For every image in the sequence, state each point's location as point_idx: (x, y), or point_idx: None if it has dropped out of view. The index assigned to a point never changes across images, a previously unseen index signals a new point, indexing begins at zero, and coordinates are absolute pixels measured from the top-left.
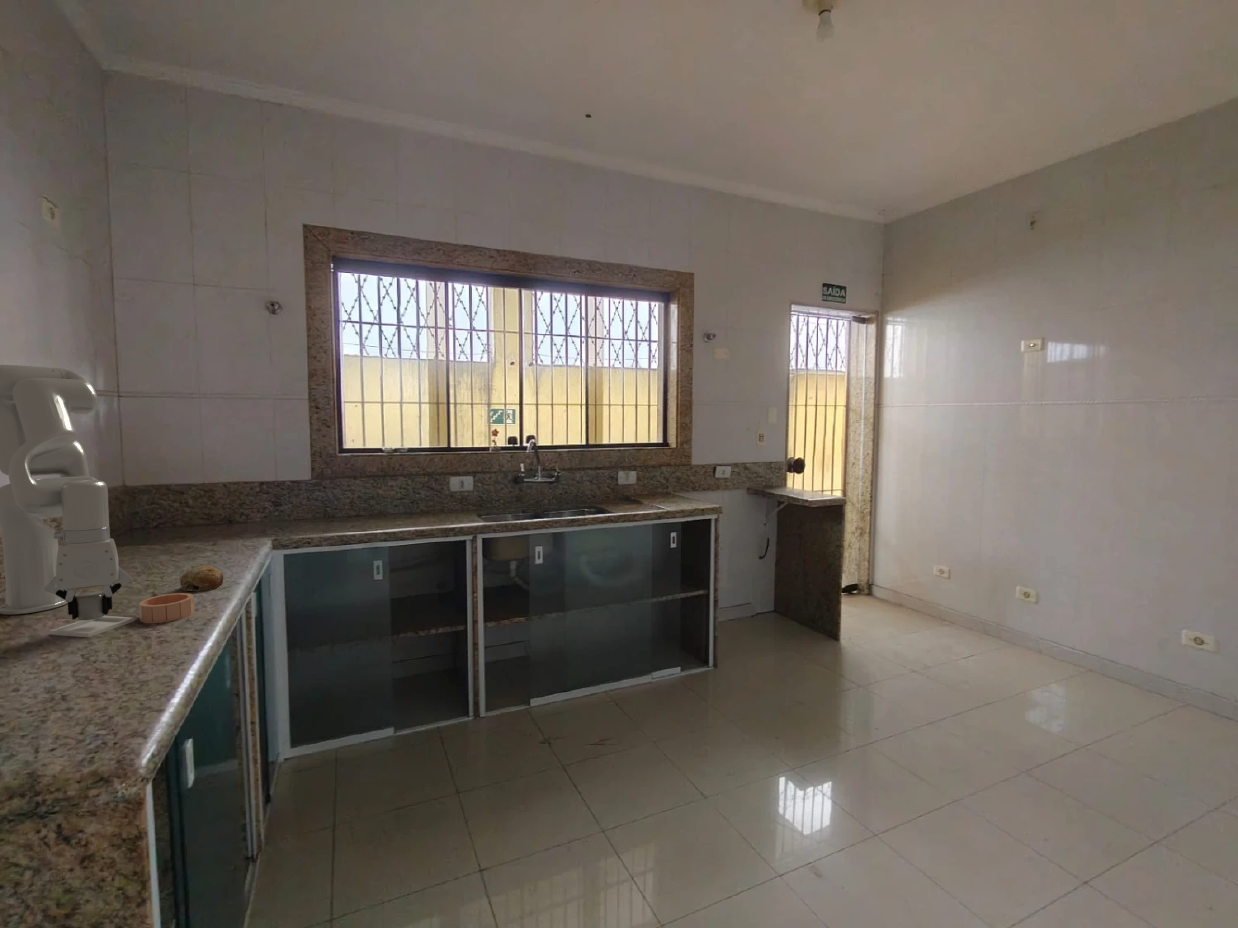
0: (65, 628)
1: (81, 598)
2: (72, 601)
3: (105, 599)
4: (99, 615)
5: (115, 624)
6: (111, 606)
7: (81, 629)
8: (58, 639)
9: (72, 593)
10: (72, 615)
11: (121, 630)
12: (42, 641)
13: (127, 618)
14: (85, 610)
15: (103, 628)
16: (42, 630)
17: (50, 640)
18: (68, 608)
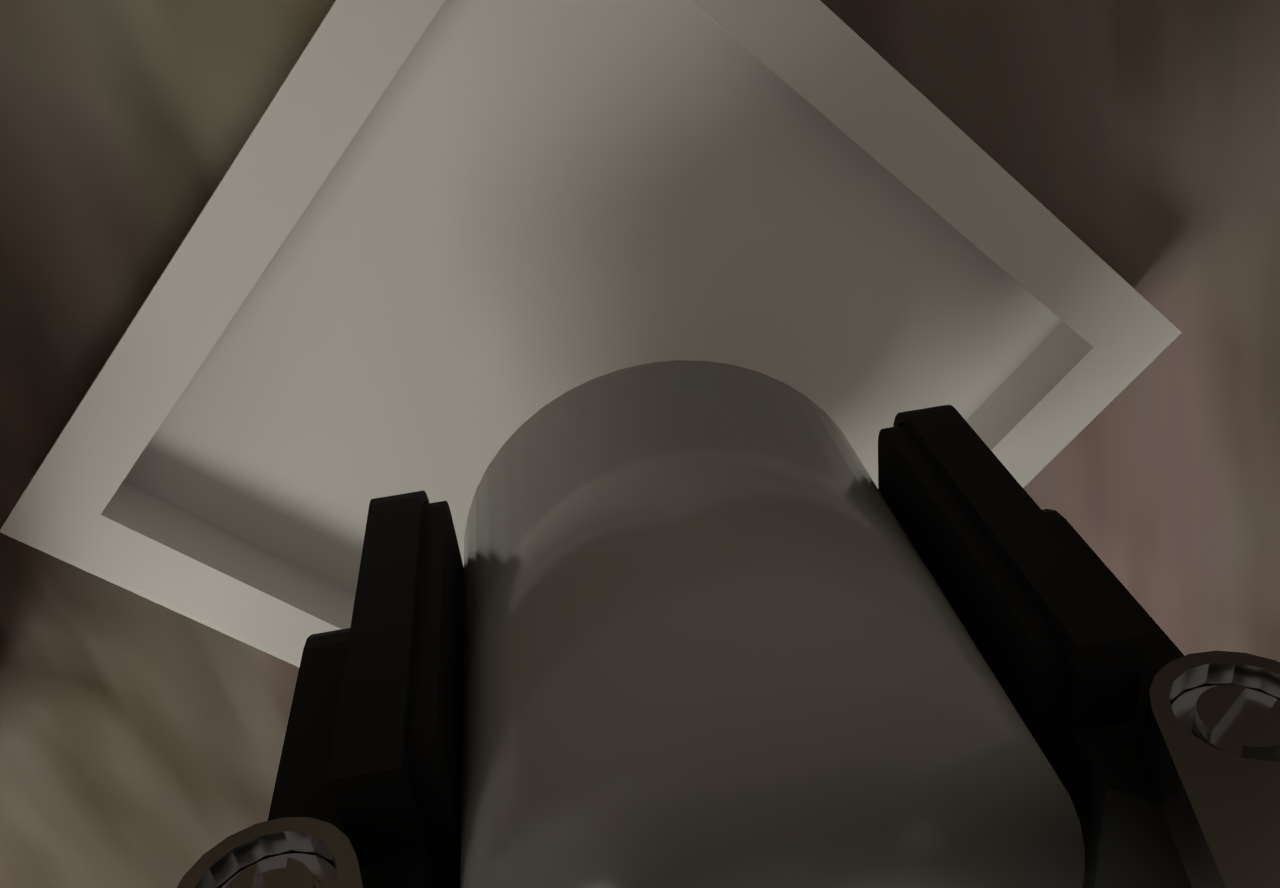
0: (978, 435)
1: (948, 705)
2: (1122, 685)
3: (358, 733)
4: (507, 469)
5: (192, 236)
6: (304, 663)
7: (759, 363)
8: (1008, 27)
9: (1274, 871)
10: (970, 438)
11: (61, 74)
12: (1210, 36)
13: (114, 523)
14: (760, 473)
15: (325, 20)
16: (1207, 598)
17: (1111, 32)
18: (1109, 585)
